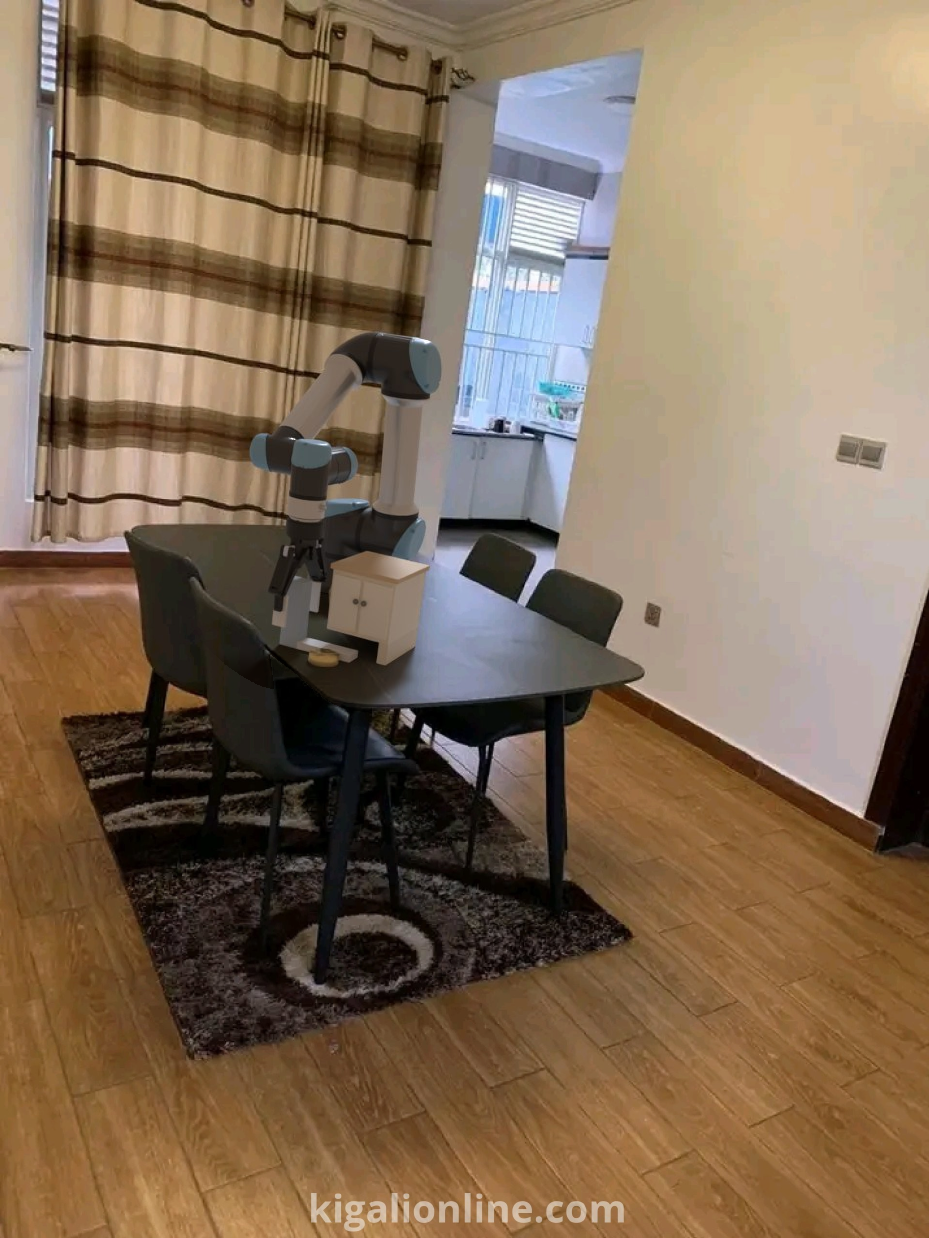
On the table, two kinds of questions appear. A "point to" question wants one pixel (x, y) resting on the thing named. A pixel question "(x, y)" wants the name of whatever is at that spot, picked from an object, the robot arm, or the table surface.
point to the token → (323, 657)
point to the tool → (305, 622)
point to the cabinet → (378, 601)
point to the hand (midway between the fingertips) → (295, 618)
